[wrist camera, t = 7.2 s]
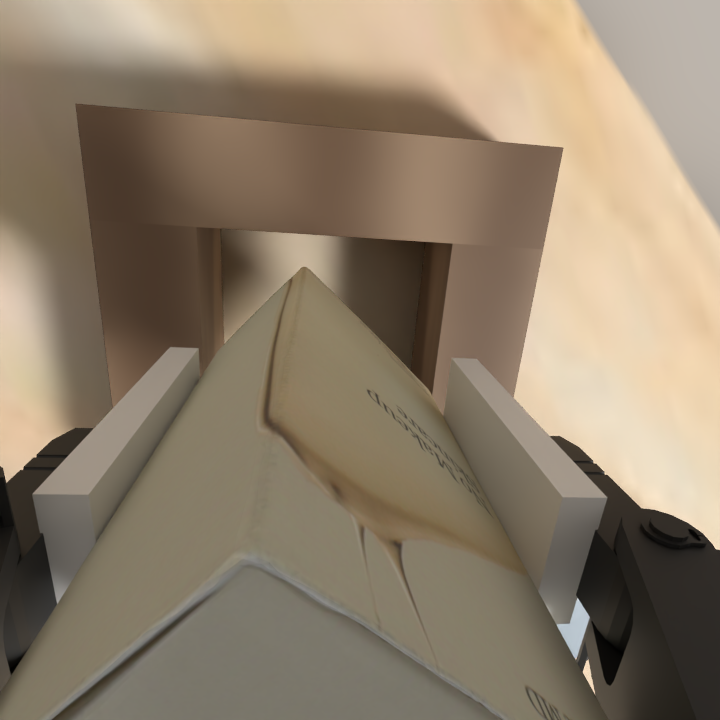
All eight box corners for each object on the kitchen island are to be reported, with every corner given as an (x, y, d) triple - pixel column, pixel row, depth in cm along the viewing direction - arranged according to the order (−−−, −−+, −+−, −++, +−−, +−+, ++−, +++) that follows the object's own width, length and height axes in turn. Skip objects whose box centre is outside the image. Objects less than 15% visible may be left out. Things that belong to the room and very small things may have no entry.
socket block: (158, 469, 22) (126, 525, 19) (127, 122, 17) (75, 103, 13) (460, 471, 24) (487, 524, 20) (514, 156, 19) (563, 147, 15)
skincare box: (430, 388, 16) (724, 863, 5) (339, 469, 17) (405, 1047, 6) (298, 256, 14) (263, 537, 3) (202, 355, 15) (-140, 895, 3)
